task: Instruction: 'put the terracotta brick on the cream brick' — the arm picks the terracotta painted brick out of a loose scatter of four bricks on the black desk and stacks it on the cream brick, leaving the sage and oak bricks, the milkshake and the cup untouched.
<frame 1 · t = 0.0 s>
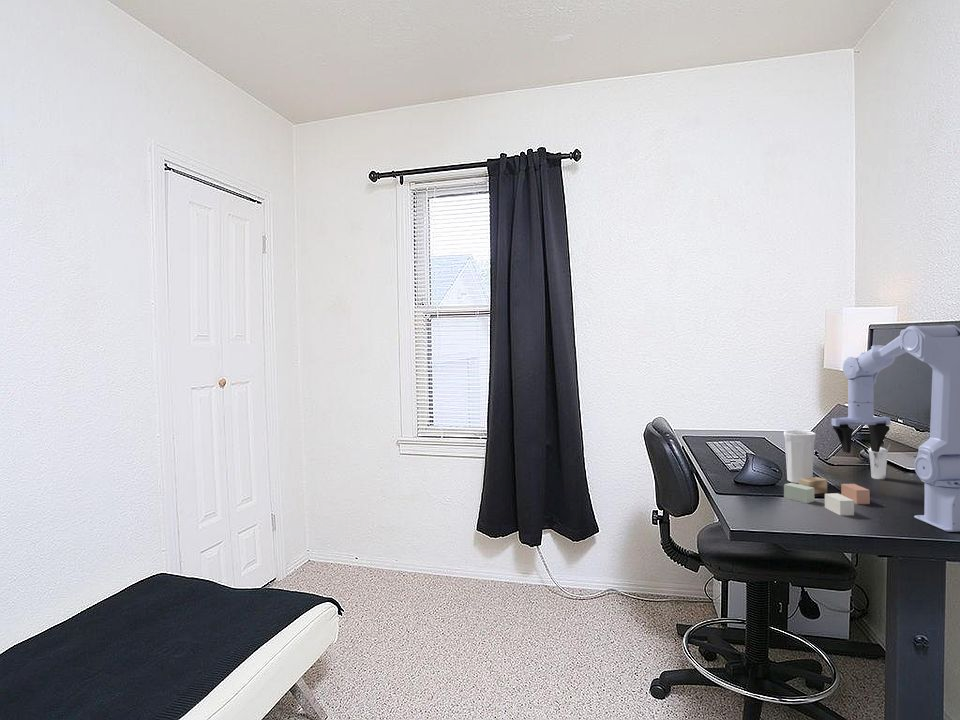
hand: (860, 451, 151), 10 cm above the table, fingers open, 7 cm apart
cream brick: (839, 511, 133), on the table
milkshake: (879, 478, 161), on the table
sage brick: (799, 499, 144), on the table
oak brick: (813, 492, 149), on the table
cup: (799, 482, 159), on the table
terracotta brick: (855, 501, 141), on the table
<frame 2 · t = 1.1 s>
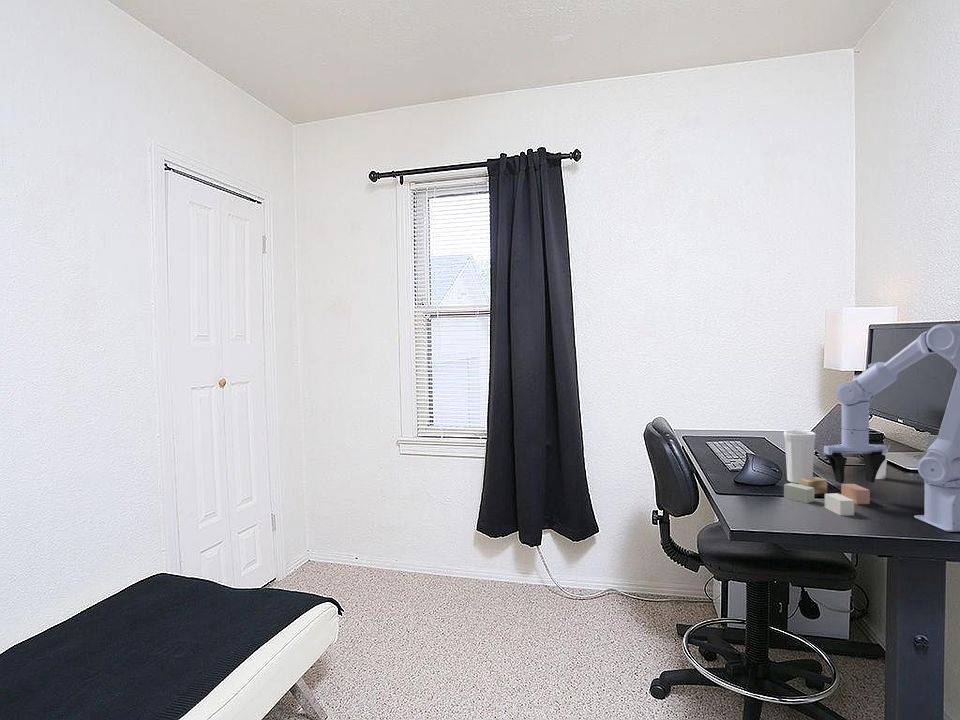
hand: (854, 481, 141), 5 cm above the table, fingers open, 7 cm apart
nothing on the table moved.
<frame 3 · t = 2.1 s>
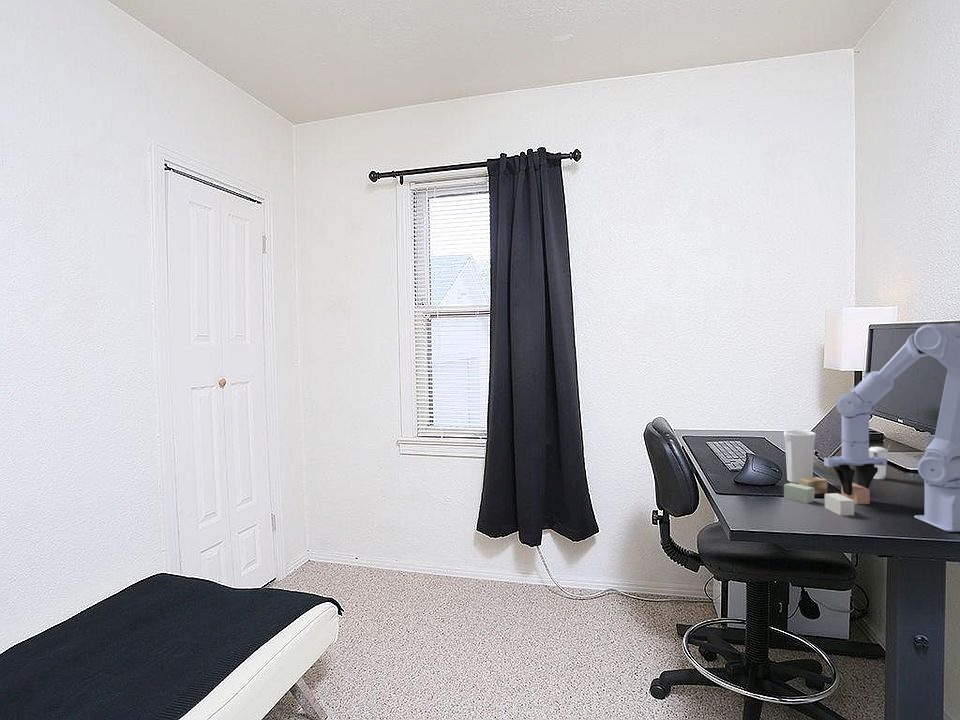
hand: (855, 494, 141), 2 cm above the table, fingers closed on terracotta brick, 3 cm apart
terracotta brick: (855, 500, 141), on the table, touching gripper
everything else where it was.
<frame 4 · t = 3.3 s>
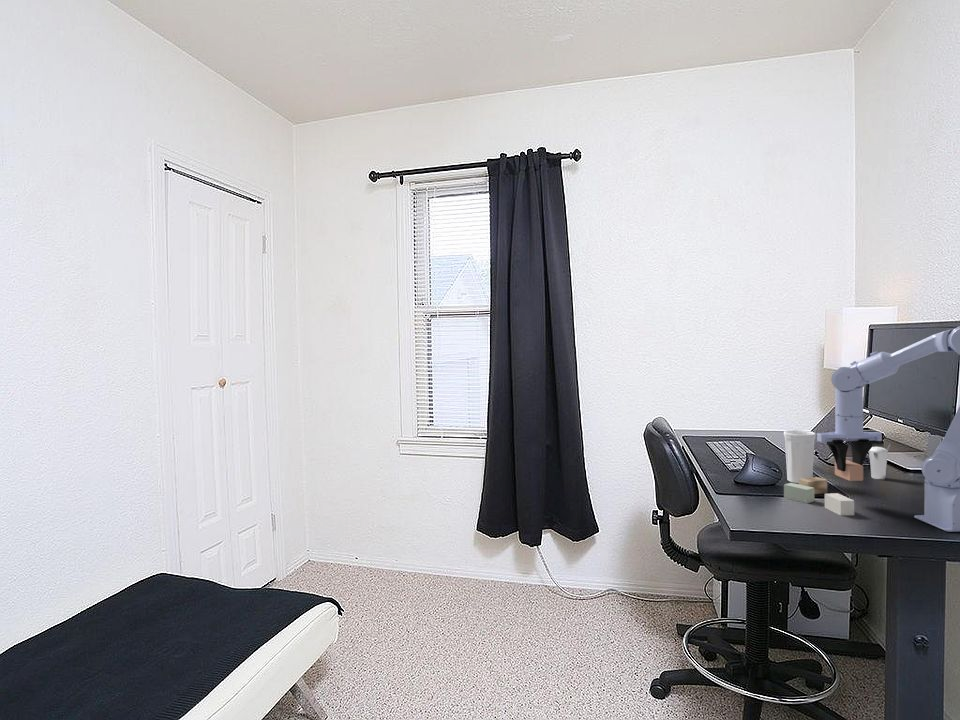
hand: (849, 470, 138), 9 cm above the table, fingers closed on terracotta brick, 3 cm apart
terracotta brick: (848, 477, 138), point 7 cm above the table, touching gripper
everything else where it was.
when the fingers open (6 cm above the table, at t = 4.5 s): terracotta brick stays where it is, resting on cream brick.
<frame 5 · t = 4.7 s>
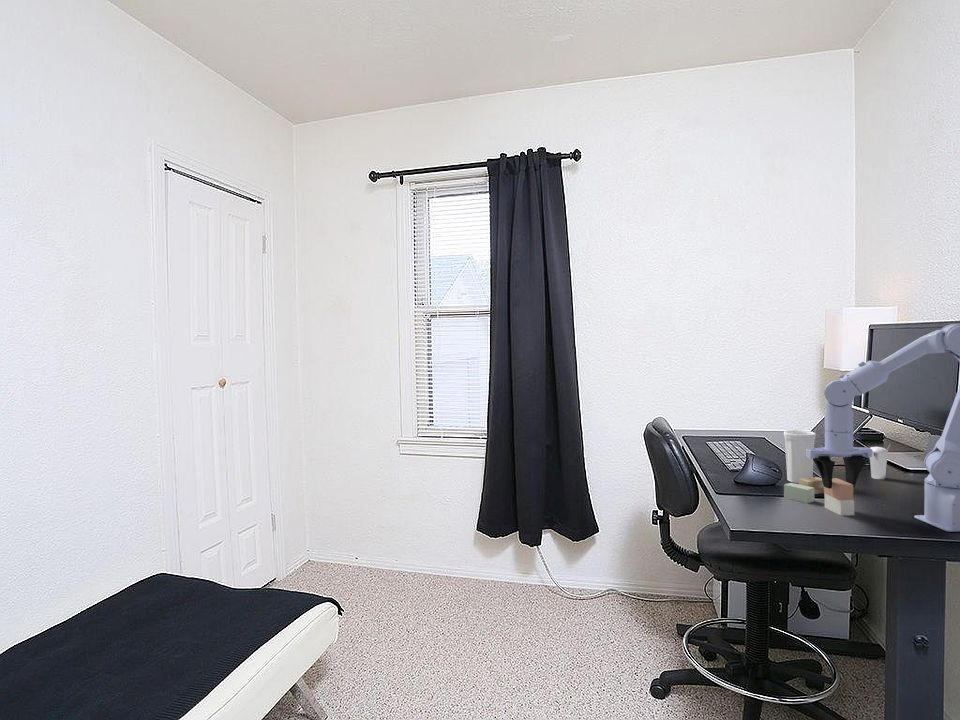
hand: (839, 487, 133), 6 cm above the table, fingers open, 5 cm apart
cream brick: (839, 511, 133), on the table, touching terracotta brick
terracotta brick: (838, 496, 133), point 3 cm above the table, touching cream brick
everything else where it was.
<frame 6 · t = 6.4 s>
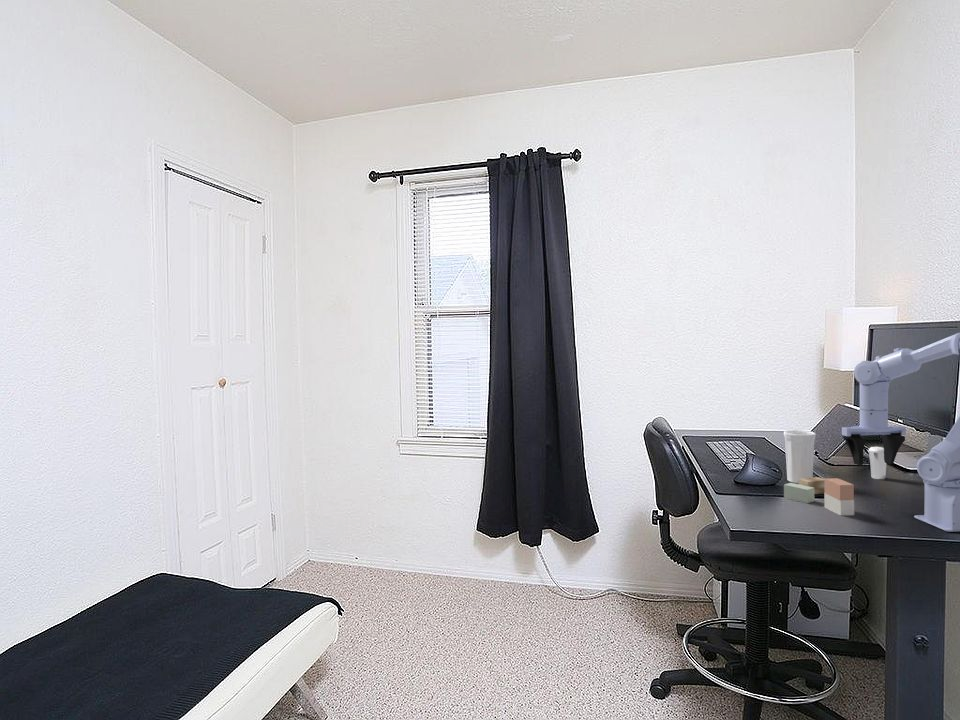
hand: (873, 464, 138), 10 cm above the table, fingers open, 7 cm apart
nothing on the table moved.
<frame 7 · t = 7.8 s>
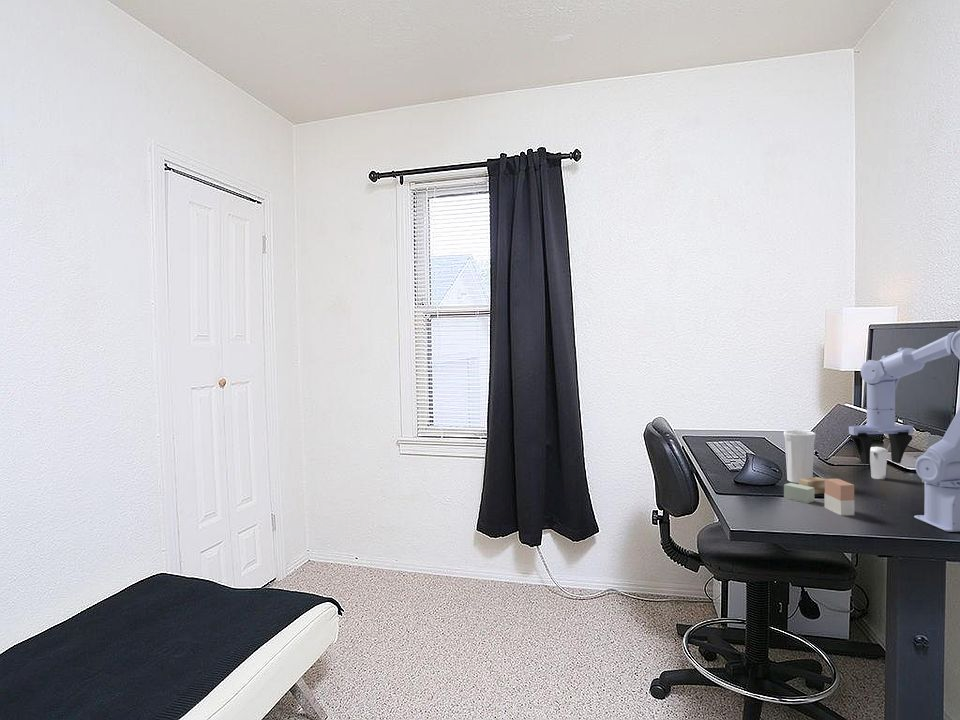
hand: (880, 462, 139), 10 cm above the table, fingers open, 7 cm apart
nothing on the table moved.
at the end: terracotta brick 0.0 cm off-centre on the cream brick, point 3.6 cm above the cream brick's base; sage brick moved 0.2 cm from its start; oak brick moved 0.2 cm from its start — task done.
